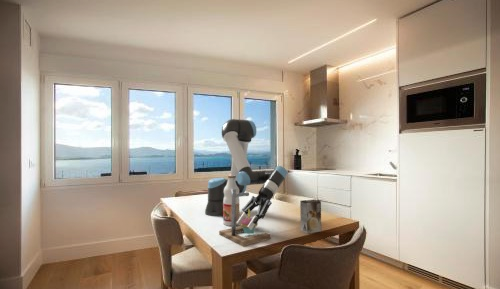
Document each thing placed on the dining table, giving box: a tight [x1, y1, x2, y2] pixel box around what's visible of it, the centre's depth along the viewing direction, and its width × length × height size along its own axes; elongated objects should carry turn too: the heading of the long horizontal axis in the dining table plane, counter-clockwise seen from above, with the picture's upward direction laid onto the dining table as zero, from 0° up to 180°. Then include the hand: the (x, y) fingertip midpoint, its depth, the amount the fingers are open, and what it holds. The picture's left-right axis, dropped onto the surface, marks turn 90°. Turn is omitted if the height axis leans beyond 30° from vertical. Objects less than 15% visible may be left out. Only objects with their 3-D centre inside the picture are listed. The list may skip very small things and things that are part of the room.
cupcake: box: [241, 209, 259, 235], centre depth 136 cm, size 9×8×12 cm
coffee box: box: [299, 199, 322, 234], centre depth 144 cm, size 9×6×16 cm
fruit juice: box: [222, 174, 240, 227], centre depth 158 cm, size 9×9×28 cm
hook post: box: [231, 189, 250, 236], centre depth 133 cm, size 2×10×22 cm, turn 128°
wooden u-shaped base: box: [218, 225, 272, 247], centre depth 135 cm, size 20×17×2 cm
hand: (243, 226), depth 134 cm, fingers closed on cupcake, 8 cm apart
